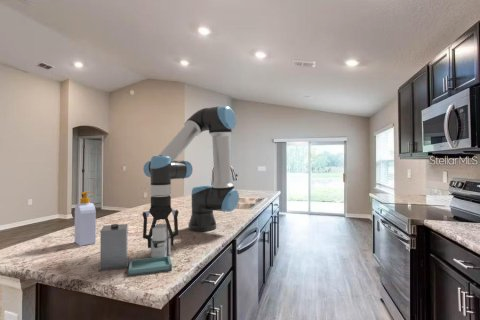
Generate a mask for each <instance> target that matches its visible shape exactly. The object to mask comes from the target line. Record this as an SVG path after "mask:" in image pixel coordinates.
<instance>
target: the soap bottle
mask: <svg viewBox="0 0 480 320" xmlns="http://www.w3.org/2000/svg"><path fill="white" fill-rule="evenodd" d="M88 193H92V194H95V192H94V191H83V192H81V193H80V195H83V197H82V198H80V203H79V204H76V205H74V206H75V208H74V243H76V244H77V245H78V246H80V247H82V246H87V245H92V244H96V240H97V239H96V238H97V234H96V230H97V229H96V222H97V221H96V217H97V216H96V215H97V213H96V207H95V204H94V203H92V202H90V197H88Z"/></svg>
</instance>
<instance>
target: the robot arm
mask: <svg viewBox="0 0 480 320" xmlns="http://www.w3.org/2000/svg"><path fill="white" fill-rule="evenodd" d="M236 124H237V118H236V114H235V112H234V111H233V109H232V108H231V107H230V106H228V105H219V106H212V107H204V108H202V109H199V110H197V111H196V112H194V113H193V114H192V115H191V116H190V117H189V118H188V119H186V121H185V122H184V123H183V127H182V128H181V130H179V131H178V133H177V134H176V135H175V136H174V137H173V139H171V140H170V142H169V143H168V144H167V145H166V146H165V148H163V150H161V152H160V153H159V154H158V155H152V156H151V157H150V160H148V161H146V162H145V163H144V165H143V173H144V175H145V176H146V177H148V178H150V207H149V210H146V211H142V218H143V228H142V238H143V239H144V240H147V248H148V249H150V258H152V229H153V228H154V227H155V226H156V225H157V221H160V220H163V221H165V223H166V224H167V227H168V231H169V237H168V254H167V256H171V255H172V252H171V251H172V249H171V248H172V246H174V244H175V243H174V238H175V237H178V236H179V221H178V217H179V216H178V215H179V210H178V209H173V208H172V202H171V201H172V200H171V199H172V198H171V197H172V196H171V193H172V191H171V190H172V186H171V185H172V182H171V181H172V180H178V179H183V180H184V179H188V178H190V177H191V175H193V170H194V169H193V165H192V163H191V162H189V161H187V160H177V159H178V158H179V157H181V155H182V154H183V153H184V152H185V150H186V148H187V147H188V146H189V145H190V144H191V143H192V142H193V140H194V139H195V138H196V137H198V136H200V134H201V133H203V132H205V131H208V133H209V135H210V136H211V138H212V140H211V141H212V156H213V158H212V159H213V162H212V163H213V179H214V180H213V181H214V182H213V183H212V184H211V185H203V186H202V185H201V186H195V187H193V188H192V189H191V214H190V215H191V216H190V219H189V222H188V230H189V231H192V232H210V231H213V230H216V229H217V222H216V218H215V215H214V211H217V212H223V213H226V212H227V213H228V212H229V213H230V212H233V211H235V209H236V208H237V206H238V204H239V199H240V194H239V191H238V190H237V189H235V184H234V183H232V179H231V177H232V176H231V156H230V155H231V154H230V151H231V150H230V135H231V134H232V133H233V132H232V130H233V129H234V128H235V127H236ZM171 213H172V216H173V227H174V228H173V229H174V230H172V227H171V224H170V221H169V216H170V215H171ZM150 215H151V216H152V217H153V219H152V222H151V225H150V229H149V232H148V234H147V228H148V218H149V216H150Z"/></svg>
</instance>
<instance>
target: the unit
mask: <svg viewBox="0 0 480 320" xmlns="http://www.w3.org/2000/svg"><path fill="white" fill-rule="evenodd" d="M129 263H130V257H128V223H123V224H118V223H112V224H109V225H103V226H102V228H101V230H100V264H99V268H98V272H104V271H112V270H119V269H121V268H122V269H129Z"/></svg>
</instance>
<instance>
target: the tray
mask: <svg viewBox="0 0 480 320" xmlns="http://www.w3.org/2000/svg"><path fill="white" fill-rule="evenodd" d="M172 270H173V265H172V259H171V255H167V256H162V257H153V258H152V257H146V258H138V259H137V258H136V259H129V263H128V277H131V276H139V275H146V274H147V275H148V274H154V273H162V272H170V271H172Z"/></svg>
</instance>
